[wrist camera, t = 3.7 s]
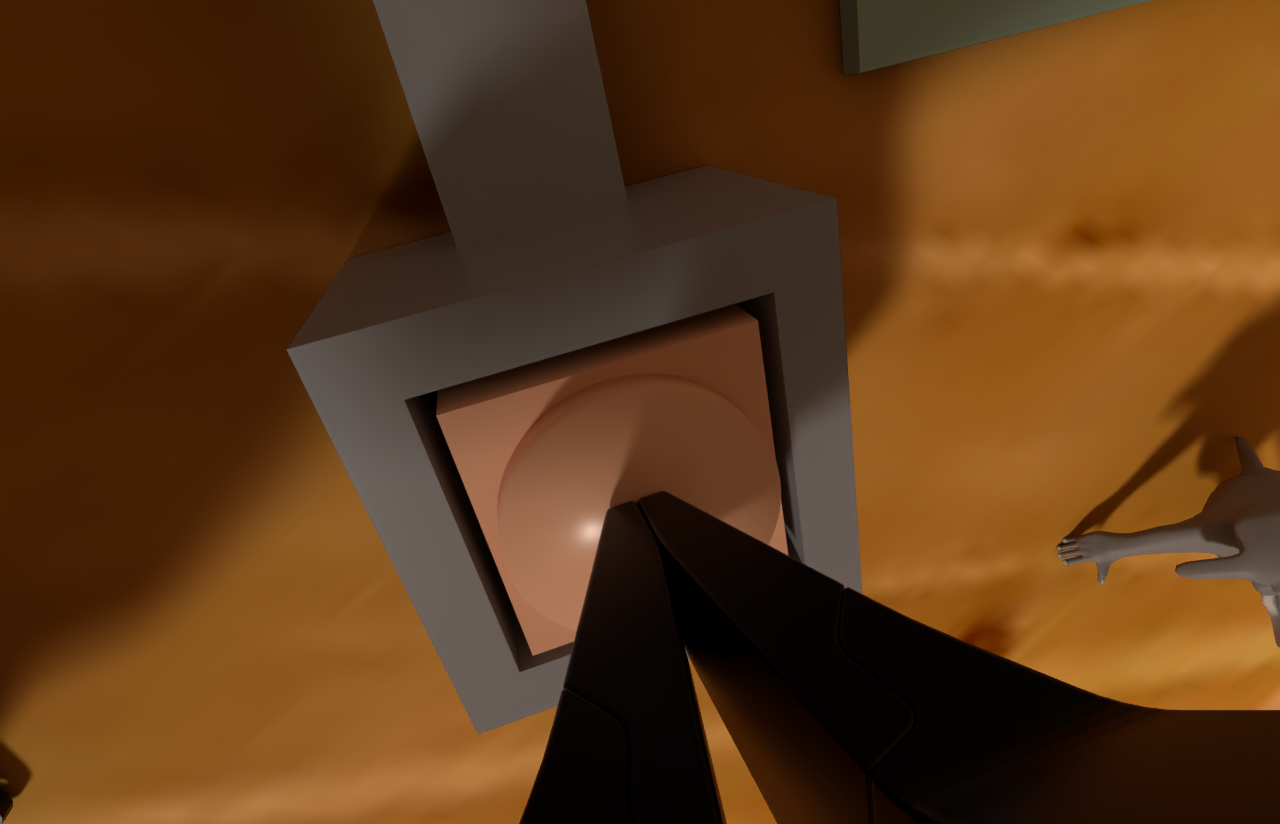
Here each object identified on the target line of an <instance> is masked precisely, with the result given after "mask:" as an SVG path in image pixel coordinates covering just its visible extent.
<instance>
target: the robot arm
mask: <svg viewBox="0 0 1280 824" xmlns="http://www.w3.org/2000/svg"><path fill="white" fill-rule="evenodd" d="M686 651H687V653H688V655H689V657H690V659H691V661H692V663H693V665H694V668H695V669H696V671H697V673H698V675H699V677H700V679H701V681H702V683H703V684H704V686H705V688H706V690H707V692H708V694H709V696H710V698H711V700H712V701H713V703H714V705H715V707H716V709H717V711H718V713H719V715H720V716H721V718H722V720H723V722H724V724H725V726H726V728H727V730H728V731H729V733H730V735H731V737H732V739H733V741H734V743H735V745H736V746H737V748H738V750H739V752H740V754H741V756H742V758H743V760H744V762H745V763H746V765H747V767H748V769H749V771H750V773H751V775H752V777H753V778H754V780H755V782H756V784H757V786H758V788H759V790H760V792H761V793H762V795H763V797H764V799H765V801H766V803H767V805H768V807H769V808H770V810H771V812H772V814H773V816H774V818H775V820H776V822H777V823H778V824H1280V710H1166V709H1157V708H1148V707H1143V706H1138V705H1133V704H1128V703H1123V702H1120V701H1116V700H1113V699H1110V698H1106V697H1103V696H1099V695H1097V694H1094V693H1091V692H1089V691H1086V690H1083V689H1080V688H1078V687H1075V686H1073V685H1070V684H1068V683H1065V682H1063V681H1060V680H1058V679H1055V678H1053V677H1051V676H1048V675H1046V674H1043V673H1041V672H1038V671H1036V670H1033V669H1031V668H1028V667H1026V666H1023V665H1021V664H1019V663H1016V662H1014V661H1011V660H1009V659H1006V658H1004V657H1001V656H999V655H996V654H994V653H991V652H989V651H987V650H984V649H982V648H979V647H977V646H974V645H972V644H969V643H967V642H964V641H962V640H959V639H957V638H955V637H953V636H950V635H948V634H946V633H943V632H941V631H939V630H936V629H934V628H932V627H929V626H927V625H925V624H922V623H920V622H918V621H916V620H913V619H911V618H909V617H907V616H905V615H903V614H901V613H899V612H897V611H895V610H893V609H891V608H889V607H887V606H885V605H883V604H881V603H879V602H876V601H874V600H872V599H871V598H869V597H867V596H865V595H863V594H861V593H859V592H857V591H855V590H853V589H852V588H849V587H846V588H845V587H844V585H843V584H841V583H840V582H838V581H836V580H834V579H832V578H830V577H828V576H826V575H824V574H822V573H821V572H819V571H817V570H815V569H813V568H811V567H809V566H807V565H805V564H803V563H802V562H800V561H798V560H796V559H794V558H792V557H790V556H788V555H786V554H784V553H783V552H781V551H779V550H777V549H775V548H773V547H771V546H769V545H767V544H765V543H764V542H762V541H760V540H758V539H756V538H754V537H752V536H750V535H748V534H746V533H745V532H743V531H741V530H739V529H737V528H735V527H733V526H731V525H729V524H727V523H726V522H724V521H722V520H720V519H718V518H716V517H714V516H712V515H710V514H708V513H707V512H705V511H703V510H701V509H699V508H697V507H695V506H693V505H691V504H689V503H688V502H686V501H684V500H682V499H680V498H678V497H676V496H674V495H672V494H670V493H668V492H666V491H659V492H656V493H653V494H650V495H647V496H644V497H641V498H639V499H638V501H637V503H636V502H635V501H629V502H626V503H623V504H620V505H617V506H614V507H610V508H609V509H608V510H607V512H606V515H605V519H604V523H603V527H602V531H601V535H600V539H599V543H598V547H597V551H596V555H595V559H594V563H593V567H592V571H591V575H590V579H589V583H588V587H587V591H586V595H585V599H584V603H583V607H582V611H581V615H580V619H579V623H578V627H577V631H576V635H575V639H574V644H573V648H572V652H571V656H570V660H569V664H568V668H567V672H566V676H565V680H564V684H563V689H564V690H562V692H561V695H560V699H559V703H558V707H557V711H556V715H555V719H554V722H553V726H552V729H551V733H550V736H549V740H548V743H547V747H546V750H545V754H544V757H543V760H542V763H541V766H540V768H539V771H538V774H537V777H536V780H535V782H534V785H533V788H532V791H531V793H530V796H529V799H528V802H527V805H526V807H525V810H524V812H523V815H522V817H521V820H520V823H519V824H727V823H726V818H725V814H724V810H723V806H722V801H721V797H720V793H719V789H718V784H717V780H716V776H715V772H714V767H713V763H712V759H711V755H710V750H709V746H708V742H707V738H706V733H705V729H704V725H703V721H702V716H701V712H700V708H699V704H698V699H697V695H696V691H695V687H694V682H693V678H692V674H691V670H690V666H689V662H688V657H687V653H686ZM12 807H13V801H12V799H11V798H10V796H9V795H8V794H7V793H6V792H5V791H4V790H3V789H1V788H0V824H2V823H3V822H4V820H5V819H6V817H7V815H8V814H9V812H10V811H11V809H12Z"/></svg>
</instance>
